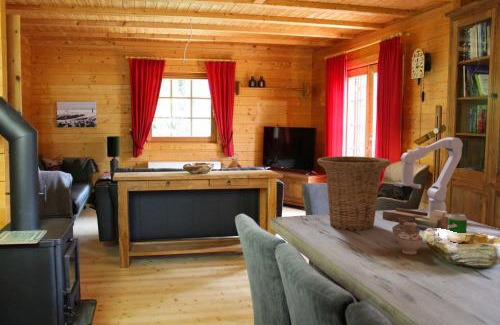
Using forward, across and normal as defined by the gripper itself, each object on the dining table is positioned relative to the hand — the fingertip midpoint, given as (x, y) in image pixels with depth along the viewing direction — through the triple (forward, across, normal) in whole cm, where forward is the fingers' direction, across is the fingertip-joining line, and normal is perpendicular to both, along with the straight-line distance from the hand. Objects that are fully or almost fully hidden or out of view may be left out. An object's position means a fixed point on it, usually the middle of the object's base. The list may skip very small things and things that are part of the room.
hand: (406, 200), depth 255 cm
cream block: (+7, +20, -5) cm, 22 cm away
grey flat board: (+9, +17, -5) cm, 20 cm away
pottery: (+10, +30, -53) cm, 62 cm away
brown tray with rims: (+9, +9, -5) cm, 14 cm away
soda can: (+10, +40, -29) cm, 50 cm away
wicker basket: (+10, -9, -37) cm, 39 cm away
